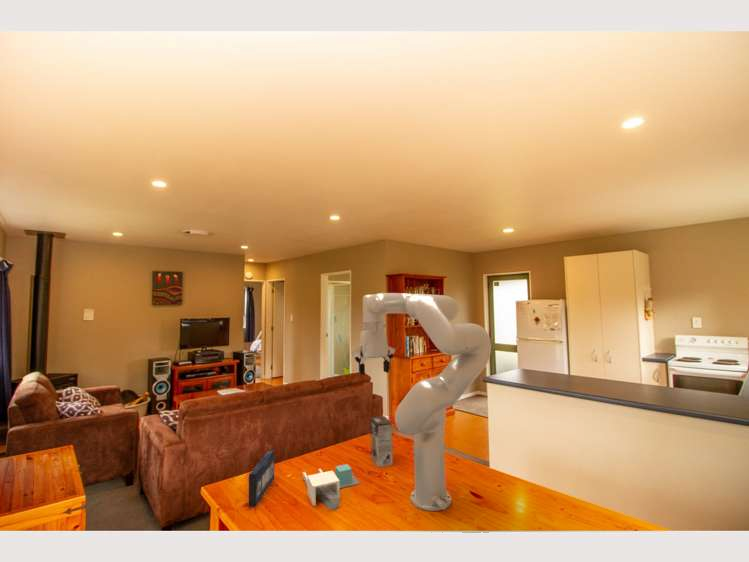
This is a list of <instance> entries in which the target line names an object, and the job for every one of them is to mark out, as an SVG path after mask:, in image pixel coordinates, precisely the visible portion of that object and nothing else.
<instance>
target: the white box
mask: <svg viewBox="0 0 749 562" xmlns="http://www.w3.org/2000/svg"><path fill="white" fill-rule="evenodd" d="M303 478H304V479H303ZM302 479H303V481H304V480H305V481H304V483H305V482H306V483H305V485H306V484H307V485H306V487H307V490H306V491H307V496H308V495H309V496H308V498H309V497H310V498H309V500H310V499H311V500H310V502H311V505H312V506H313V507H315V506H316V505H317V500H316V499H317V498H316V497H317V496H316V487H321V486H325V485H328V486H329V487H330V488H331V489H332V490H333V491H334V492H335V493H336V494H337V495H338V496H339V499H340V496H341V492H340V491H341V489H340V481H339V479H338V478H337V476H336V473H335V472H334V470H330V471H329V470H328V471H324V472H323V470H322V469H321V468H318V473H315V474H309V475H307V473H306V471H302ZM314 505H315V506H314Z"/></svg>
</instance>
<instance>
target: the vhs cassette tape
mask: <svg viewBox="0 0 749 562" xmlns="http://www.w3.org/2000/svg"><path fill="white" fill-rule="evenodd" d="M275 455H276V454H275V450H268V451H267V452H266V453H265V454H264V456H263V457H262V458H261V459H260V460H259V462H258V463H257V464H256V465H255V466H254V467H253V469H252V470H251V472H250V473H249V474H248V504H247V505H248V507H249V508H250V507H252V508H253V507H254V508H256V507H257V506H258V504H259V503H260V502H261V500H262V499H263V497H264V496H263V495H265V494H266V493H265V492H267V491H268V490H269V488H270V487H269V486H271V485H272V483H273V482H274V481H275ZM268 487H269V488H268ZM267 489H268V490H267ZM266 490H267V491H266ZM264 493H265V494H264ZM262 496H263V497H262ZM261 498H262V499H261ZM260 499H261V500H260ZM259 501H260V502H259Z"/></svg>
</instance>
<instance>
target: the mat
mask: <svg viewBox="0 0 749 562" xmlns="http://www.w3.org/2000/svg"><path fill="white" fill-rule="evenodd" d="M360 484H361V483H360V482H359V480H358V479H357V478H356V476H355V475H354V474H353V473H352V483H347V484H343V485H340V488H342V489H345V488H344V487H346V488H349V487H348V486H350V487H354V486H353V485H355V486H358V485H360Z"/></svg>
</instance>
